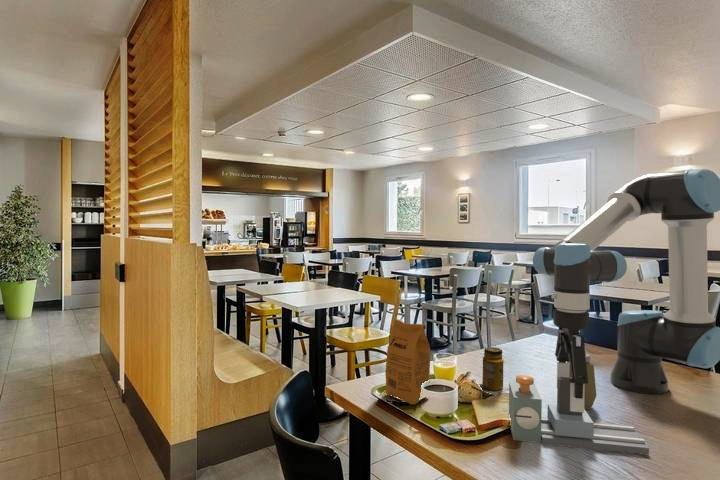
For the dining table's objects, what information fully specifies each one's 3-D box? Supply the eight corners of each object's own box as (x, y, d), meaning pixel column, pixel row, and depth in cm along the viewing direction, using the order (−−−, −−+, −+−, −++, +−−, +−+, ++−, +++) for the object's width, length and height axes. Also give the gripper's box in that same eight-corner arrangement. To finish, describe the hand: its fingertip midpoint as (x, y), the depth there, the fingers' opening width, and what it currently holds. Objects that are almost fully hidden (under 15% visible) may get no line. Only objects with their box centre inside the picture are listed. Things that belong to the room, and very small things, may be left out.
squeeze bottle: (595, 414, 115) (596, 346, 114) (561, 407, 119) (562, 342, 119) (597, 403, 122) (598, 339, 121) (565, 397, 126) (566, 335, 126)
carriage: (582, 420, 107) (583, 373, 107) (593, 438, 98) (594, 387, 98) (547, 417, 109) (548, 371, 109) (555, 435, 100) (556, 384, 100)
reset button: (532, 389, 107) (532, 375, 107) (534, 395, 103) (535, 381, 103) (514, 388, 108) (514, 374, 108) (516, 394, 104) (517, 380, 104)
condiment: (509, 389, 133) (509, 350, 132) (490, 395, 128) (491, 354, 128) (490, 382, 139) (490, 344, 138) (471, 387, 134) (471, 348, 134)
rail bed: (629, 431, 106) (629, 422, 106) (648, 454, 95) (649, 445, 95) (534, 422, 111) (534, 414, 110) (542, 443, 100) (542, 434, 100)
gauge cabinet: (533, 423, 110) (534, 383, 110) (541, 443, 100) (542, 400, 99) (508, 420, 111) (509, 382, 111) (513, 441, 101) (514, 398, 101)
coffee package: (402, 386, 135) (403, 315, 134) (434, 398, 126) (435, 322, 125) (379, 394, 128) (379, 320, 128) (411, 408, 119) (411, 327, 118)
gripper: (543, 299, 116) (542, 379, 116) (566, 320, 91) (564, 420, 92) (574, 300, 114) (573, 381, 115) (606, 322, 90) (603, 424, 90)
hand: (569, 399), depth 103 cm, fingers open, 13 cm apart
